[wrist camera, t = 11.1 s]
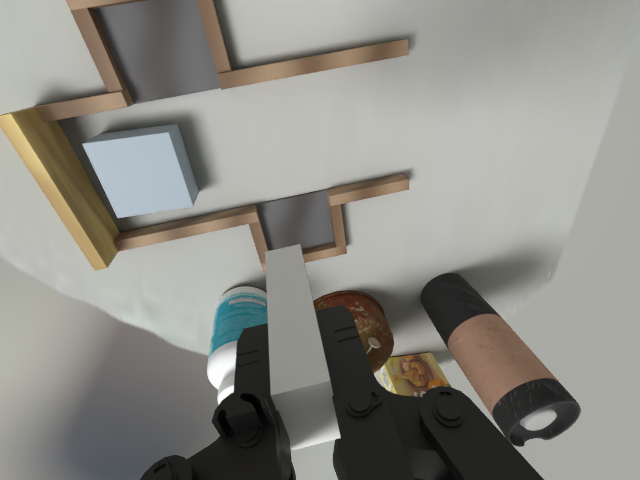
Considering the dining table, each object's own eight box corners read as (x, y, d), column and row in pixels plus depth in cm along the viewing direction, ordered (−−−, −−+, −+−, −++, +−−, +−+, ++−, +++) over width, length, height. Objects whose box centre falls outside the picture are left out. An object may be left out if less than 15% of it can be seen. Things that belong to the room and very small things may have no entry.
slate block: (178, 122, 31) (168, 132, 27) (199, 190, 35) (193, 206, 31) (101, 133, 30) (82, 143, 27) (131, 201, 34) (117, 218, 30)
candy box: (379, 373, 55) (416, 473, 42) (381, 357, 53) (421, 456, 40) (427, 366, 57) (478, 461, 44) (431, 350, 55) (486, 444, 42)
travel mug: (446, 263, 45) (559, 391, 28) (477, 285, 48) (595, 412, 32) (408, 299, 48) (491, 438, 31) (439, 318, 51) (531, 453, 34)
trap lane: (398, -60, 26) (425, -80, 22) (403, 233, 41) (419, 254, 37) (-24, 8, 24) (-83, 0, 20) (141, 291, 39) (127, 321, 35)
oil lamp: (351, 345, 56) (517, 762, 27) (269, 344, 48) (376, 914, 20) (395, 291, 49) (682, 777, 20) (306, 280, 41) (557, 1021, 13)
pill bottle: (205, 296, 41) (186, 392, 30) (259, 275, 41) (259, 363, 30) (233, 333, 45) (226, 429, 34) (282, 313, 45) (291, 404, 33)
